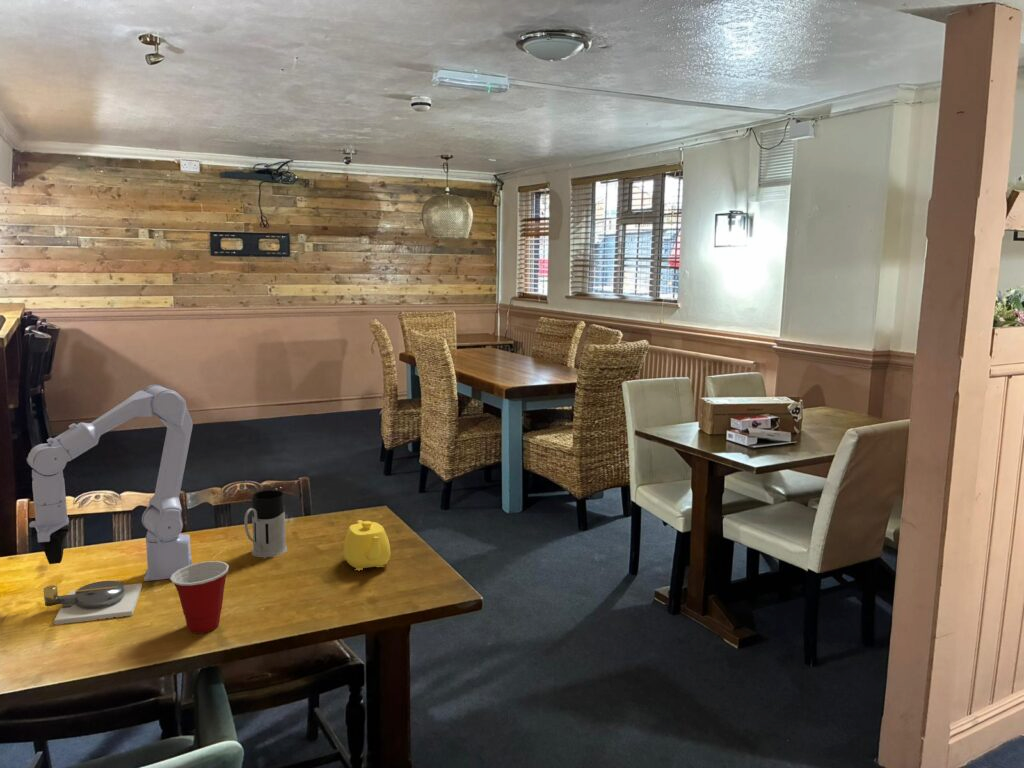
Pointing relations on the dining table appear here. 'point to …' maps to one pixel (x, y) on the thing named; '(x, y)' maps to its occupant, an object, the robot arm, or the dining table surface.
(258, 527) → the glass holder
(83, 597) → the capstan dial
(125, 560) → the dining table surface
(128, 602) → the white square board
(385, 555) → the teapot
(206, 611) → the plastic cup
